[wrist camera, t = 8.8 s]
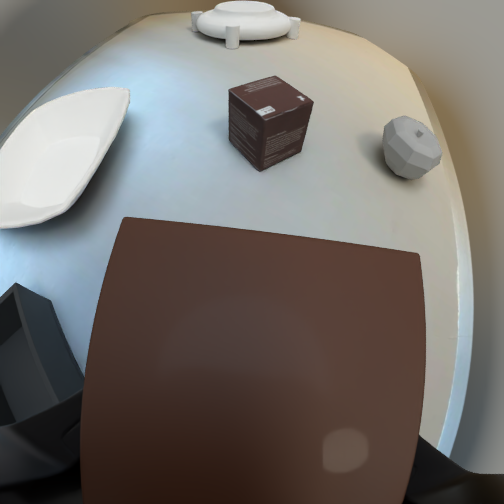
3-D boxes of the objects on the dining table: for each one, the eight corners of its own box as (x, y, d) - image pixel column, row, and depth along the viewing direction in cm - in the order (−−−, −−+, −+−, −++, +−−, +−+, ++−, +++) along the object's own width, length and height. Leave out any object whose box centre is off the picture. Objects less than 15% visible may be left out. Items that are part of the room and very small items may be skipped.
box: (269, 123, 31) (276, 74, 24) (302, 152, 29) (316, 101, 22) (227, 140, 29) (226, 88, 22) (258, 173, 27) (264, 118, 21)
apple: (361, 142, 31) (379, 104, 25) (406, 145, 32) (425, 112, 26) (388, 193, 27) (414, 155, 21) (432, 191, 28) (459, 159, 22)
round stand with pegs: (208, 17, 50) (207, -4, 44) (299, 25, 50) (303, 3, 43) (172, 48, 41) (168, 19, 34) (294, 56, 40) (299, 25, 34)
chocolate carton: (275, 431, 12) (377, 571, 1) (198, 422, 12) (86, 548, 1) (285, 341, 14) (422, 249, 3) (209, 333, 14) (120, 211, 3)
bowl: (43, 126, 31) (31, 104, 26) (155, 109, 32) (148, 78, 27) (-16, 243, 22) (-39, 225, 18) (99, 256, 23) (72, 230, 18)
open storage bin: (34, 454, 14) (0, 462, 9) (-10, 353, 17) (-43, 344, 12) (107, 416, 17) (72, 425, 12) (50, 300, 21) (15, 281, 16)
